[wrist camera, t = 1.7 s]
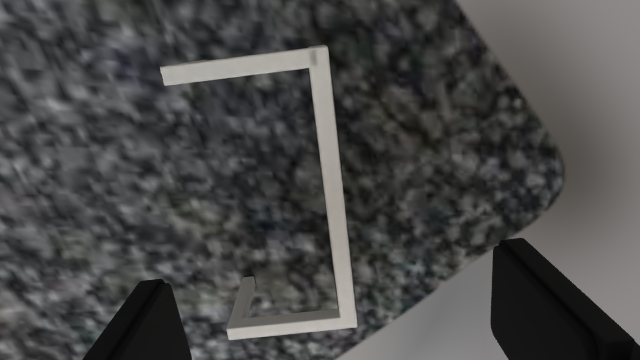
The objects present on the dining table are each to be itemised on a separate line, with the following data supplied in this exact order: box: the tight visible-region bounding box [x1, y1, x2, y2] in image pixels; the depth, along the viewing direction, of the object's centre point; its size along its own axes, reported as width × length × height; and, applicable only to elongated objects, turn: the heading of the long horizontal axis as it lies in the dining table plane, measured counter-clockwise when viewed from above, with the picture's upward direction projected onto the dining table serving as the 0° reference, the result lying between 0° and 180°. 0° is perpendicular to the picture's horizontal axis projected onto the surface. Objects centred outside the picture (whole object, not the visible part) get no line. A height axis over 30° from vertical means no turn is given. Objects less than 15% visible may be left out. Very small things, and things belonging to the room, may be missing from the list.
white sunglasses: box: [160, 45, 357, 340], centre depth 19 cm, size 6×13×4 cm, turn 7°
